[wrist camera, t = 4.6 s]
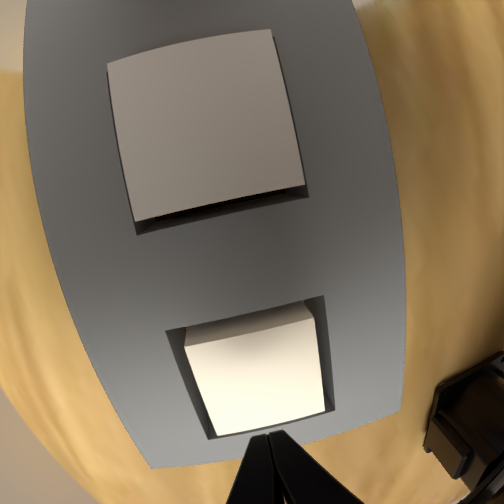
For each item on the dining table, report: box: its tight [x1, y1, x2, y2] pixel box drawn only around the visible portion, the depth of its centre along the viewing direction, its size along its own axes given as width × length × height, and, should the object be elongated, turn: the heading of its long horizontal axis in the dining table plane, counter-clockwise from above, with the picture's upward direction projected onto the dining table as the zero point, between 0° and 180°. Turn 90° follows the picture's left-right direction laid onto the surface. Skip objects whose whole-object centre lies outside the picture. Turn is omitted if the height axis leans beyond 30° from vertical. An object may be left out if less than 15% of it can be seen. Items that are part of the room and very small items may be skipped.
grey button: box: [107, 29, 305, 222], centre depth 8 cm, size 4×4×3 cm
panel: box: [23, 0, 406, 469], centre depth 9 cm, size 11×24×4 cm, turn 11°
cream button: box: [184, 300, 325, 436], centre depth 11 cm, size 4×4×3 cm
